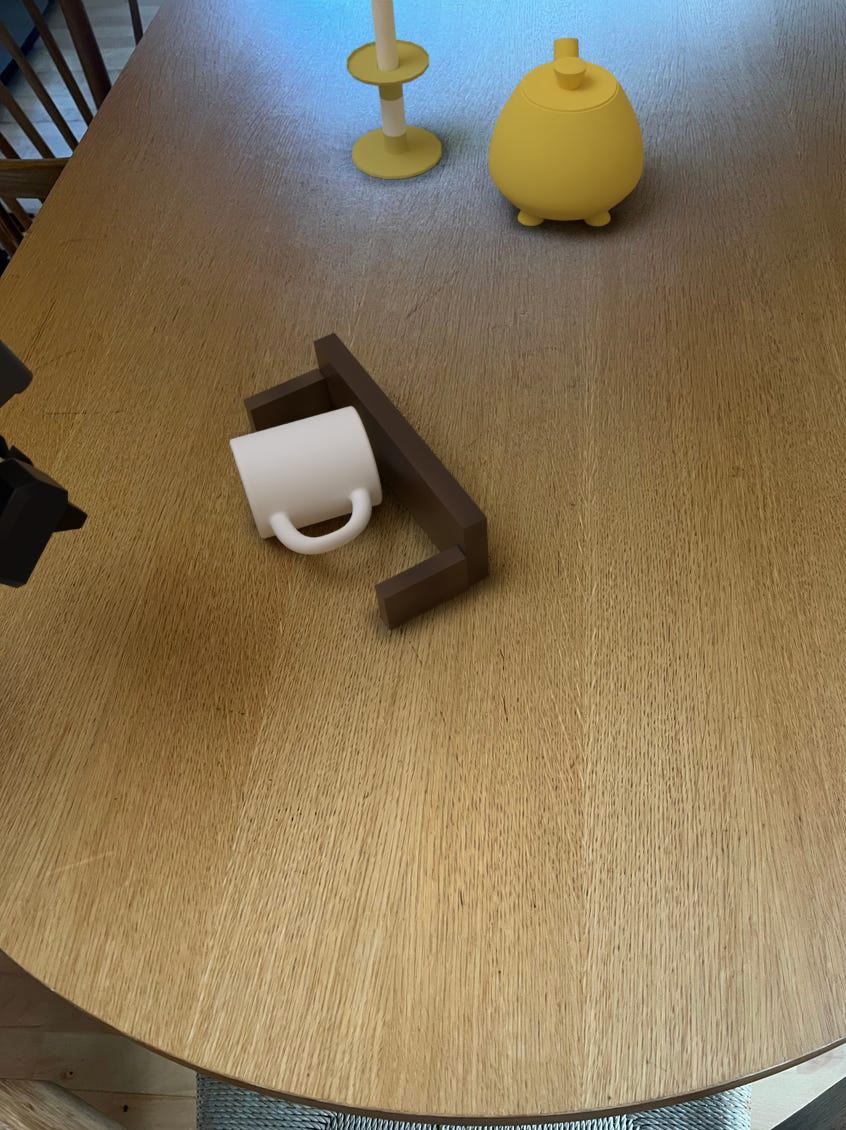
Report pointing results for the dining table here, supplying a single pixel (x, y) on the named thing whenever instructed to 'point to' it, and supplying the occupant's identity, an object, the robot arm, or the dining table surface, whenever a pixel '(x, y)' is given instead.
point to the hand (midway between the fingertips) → (82, 519)
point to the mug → (310, 478)
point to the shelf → (390, 477)
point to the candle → (392, 102)
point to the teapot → (566, 142)
